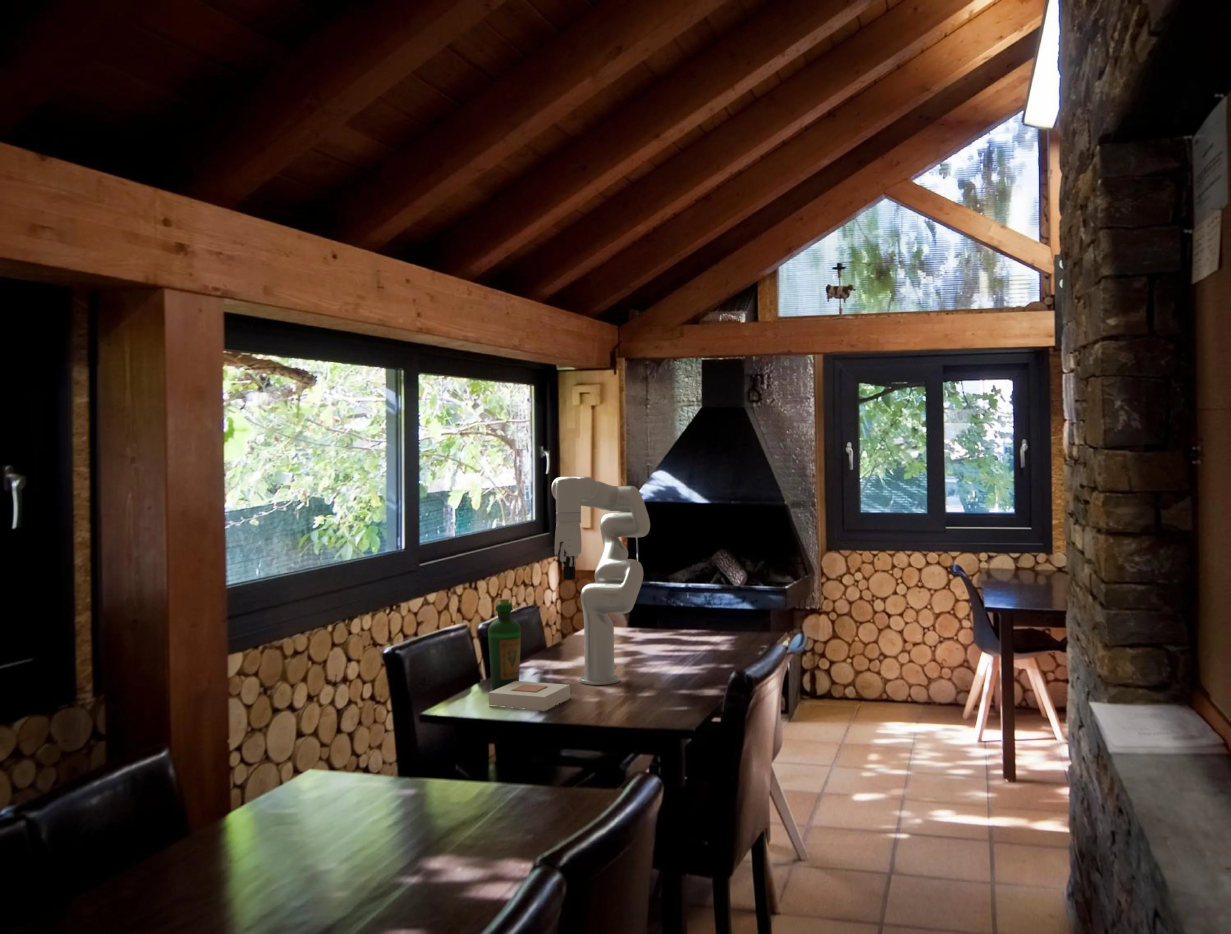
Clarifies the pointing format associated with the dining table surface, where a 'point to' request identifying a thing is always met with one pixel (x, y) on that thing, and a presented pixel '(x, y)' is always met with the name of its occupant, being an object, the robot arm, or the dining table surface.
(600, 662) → the robot arm
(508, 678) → the bottle
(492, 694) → the panel
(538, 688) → the button
